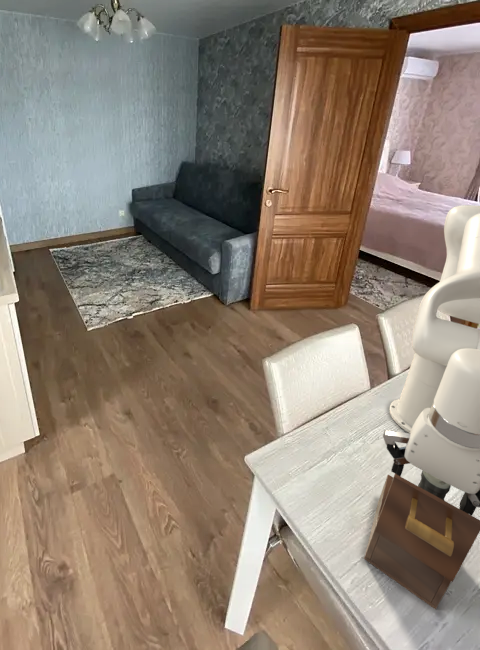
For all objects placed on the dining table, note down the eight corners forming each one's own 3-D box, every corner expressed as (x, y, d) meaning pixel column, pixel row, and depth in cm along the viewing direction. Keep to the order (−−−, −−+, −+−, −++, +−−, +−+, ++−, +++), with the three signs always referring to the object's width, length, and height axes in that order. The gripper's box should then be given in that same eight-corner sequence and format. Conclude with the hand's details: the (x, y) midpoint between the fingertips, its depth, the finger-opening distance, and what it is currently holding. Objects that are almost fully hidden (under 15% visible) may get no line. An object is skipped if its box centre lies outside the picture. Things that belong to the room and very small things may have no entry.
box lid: (394, 473, 57) (388, 504, 53) (482, 521, 51) (483, 561, 46) (375, 527, 62) (367, 559, 58) (452, 577, 56) (451, 618, 51)
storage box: (378, 501, 75) (388, 474, 72) (441, 539, 69) (455, 511, 65) (363, 559, 66) (374, 530, 62) (435, 609, 59) (451, 581, 56)
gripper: (531, 437, 52) (491, 508, 59) (399, 382, 62) (377, 449, 69) (537, 475, 47) (492, 549, 53) (392, 409, 57) (369, 478, 63)
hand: (427, 492), depth 61 cm, fingers open, 9 cm apart
